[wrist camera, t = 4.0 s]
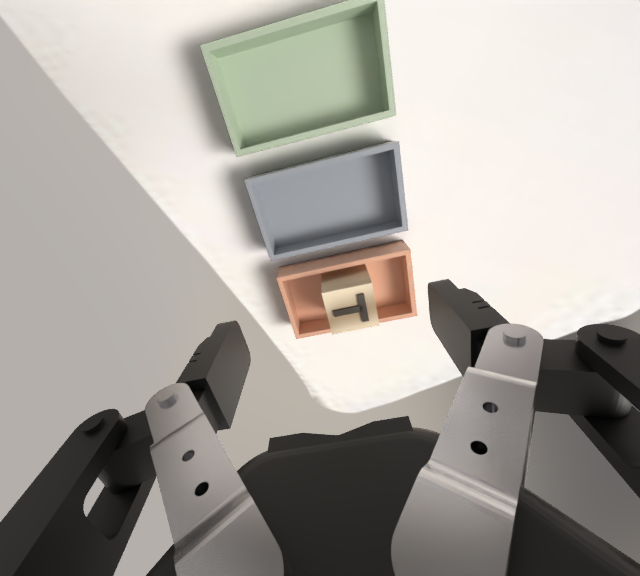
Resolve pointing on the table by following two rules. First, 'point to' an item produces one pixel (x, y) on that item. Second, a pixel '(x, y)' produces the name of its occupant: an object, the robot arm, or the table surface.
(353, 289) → the letter cube
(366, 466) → the robot arm
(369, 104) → the sage tray
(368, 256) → the terracotta tray
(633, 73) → the table surface
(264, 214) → the slate tray
